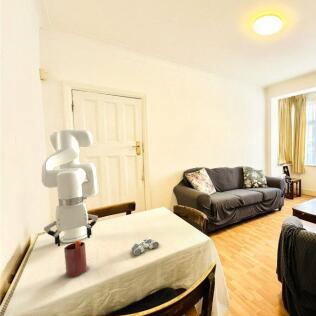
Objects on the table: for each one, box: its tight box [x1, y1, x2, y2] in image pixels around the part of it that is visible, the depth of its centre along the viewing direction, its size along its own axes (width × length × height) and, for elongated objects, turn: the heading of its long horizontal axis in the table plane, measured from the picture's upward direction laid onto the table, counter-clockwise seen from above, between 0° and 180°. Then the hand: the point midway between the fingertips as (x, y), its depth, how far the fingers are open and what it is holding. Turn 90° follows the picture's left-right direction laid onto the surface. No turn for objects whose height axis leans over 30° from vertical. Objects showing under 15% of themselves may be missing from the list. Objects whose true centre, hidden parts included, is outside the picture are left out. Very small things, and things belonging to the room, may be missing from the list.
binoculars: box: [130, 237, 160, 256], centre depth 103 cm, size 12×8×4 cm, turn 139°
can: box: [63, 241, 88, 278], centre depth 84 cm, size 7×7×12 cm
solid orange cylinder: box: [74, 239, 82, 249], centre depth 85 cm, size 2×2×12 cm
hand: (74, 240), depth 84 cm, fingers open, 9 cm apart
